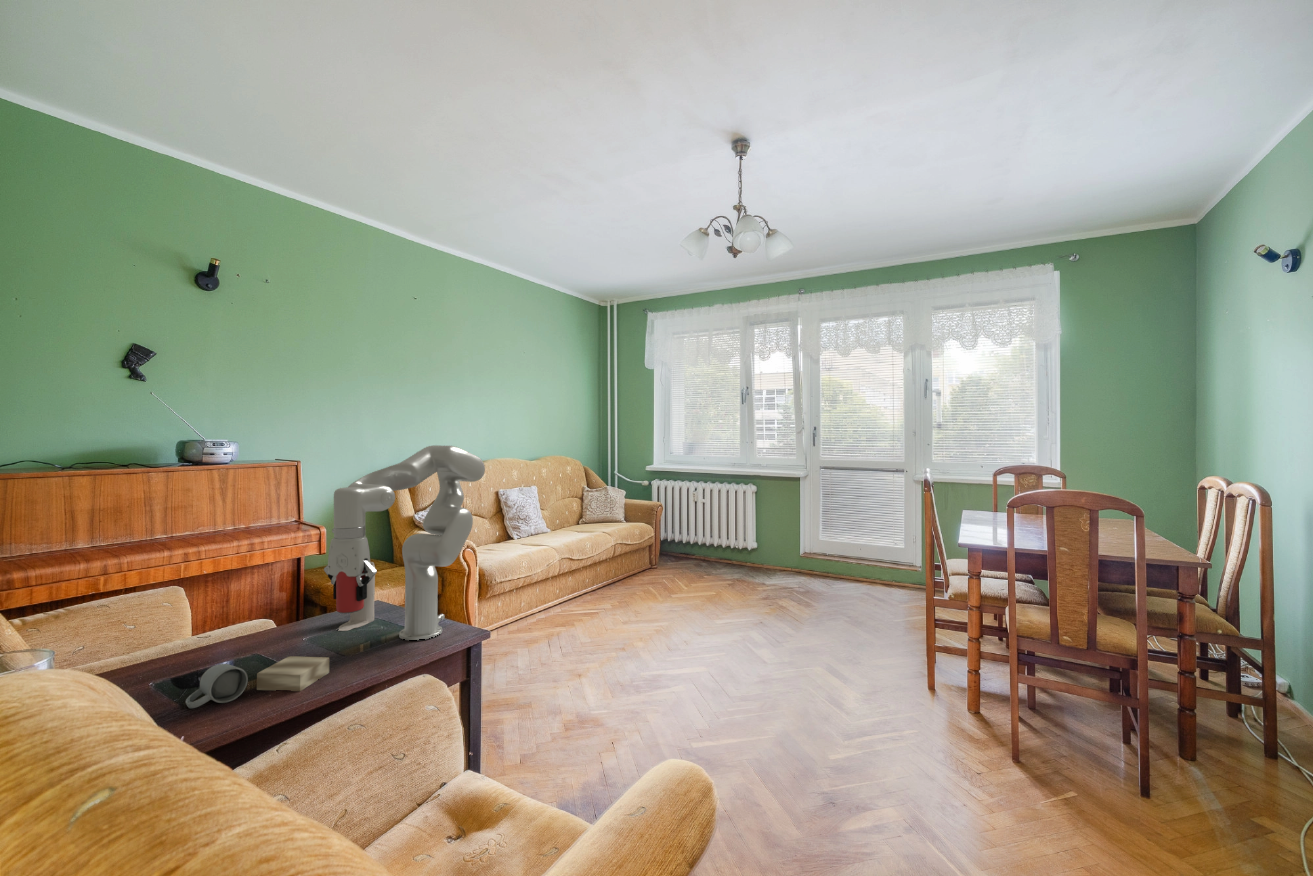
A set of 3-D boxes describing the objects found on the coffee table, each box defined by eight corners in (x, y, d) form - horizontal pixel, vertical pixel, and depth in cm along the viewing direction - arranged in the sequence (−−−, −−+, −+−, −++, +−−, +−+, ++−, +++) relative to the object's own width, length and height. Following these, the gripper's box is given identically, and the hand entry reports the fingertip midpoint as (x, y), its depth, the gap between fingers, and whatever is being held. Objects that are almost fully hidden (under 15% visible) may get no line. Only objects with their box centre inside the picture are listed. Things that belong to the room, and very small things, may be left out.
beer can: (351, 615, 148) (351, 569, 147) (330, 613, 149) (330, 568, 149) (369, 607, 154) (369, 564, 154) (348, 605, 155) (348, 562, 155)
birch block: (288, 671, 147) (289, 656, 147) (329, 672, 147) (329, 657, 147) (256, 689, 136) (257, 673, 136) (300, 691, 136) (300, 674, 136)
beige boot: (330, 630, 179) (331, 568, 179) (360, 617, 193) (361, 559, 193) (350, 631, 178) (351, 569, 178) (378, 618, 192) (379, 560, 192)
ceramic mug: (233, 687, 138) (233, 656, 137) (248, 695, 133) (248, 663, 133) (179, 705, 129) (179, 671, 128) (193, 714, 124) (193, 680, 124)
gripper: (311, 534, 149) (312, 600, 150) (367, 537, 146) (367, 605, 146) (333, 529, 157) (334, 592, 157) (387, 532, 153) (387, 597, 153)
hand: (350, 598), depth 151 cm, fingers closed on beer can, 6 cm apart
